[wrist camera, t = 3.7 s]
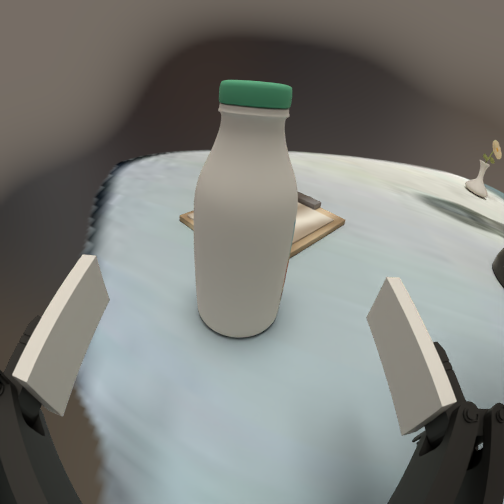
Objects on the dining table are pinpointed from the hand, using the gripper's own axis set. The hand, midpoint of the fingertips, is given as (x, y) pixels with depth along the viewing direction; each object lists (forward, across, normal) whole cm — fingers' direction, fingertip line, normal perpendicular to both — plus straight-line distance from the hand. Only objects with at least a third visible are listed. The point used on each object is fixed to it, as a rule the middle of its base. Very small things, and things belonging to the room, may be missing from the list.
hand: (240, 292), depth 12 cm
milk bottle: (+10, 0, -12) cm, 15 cm away
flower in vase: (+71, +92, -11) cm, 117 cm away
